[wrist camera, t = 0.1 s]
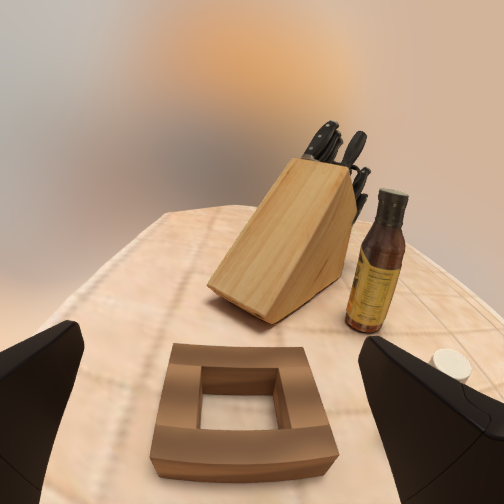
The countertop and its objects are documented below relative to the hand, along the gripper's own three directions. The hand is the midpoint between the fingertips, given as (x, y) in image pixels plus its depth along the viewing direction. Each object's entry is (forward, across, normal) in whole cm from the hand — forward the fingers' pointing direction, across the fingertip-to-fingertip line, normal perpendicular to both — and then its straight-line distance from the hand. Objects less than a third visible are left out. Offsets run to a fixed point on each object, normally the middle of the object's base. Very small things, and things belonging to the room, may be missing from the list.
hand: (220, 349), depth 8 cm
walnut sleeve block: (+9, -2, +16) cm, 19 cm away
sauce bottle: (+25, -21, +17) cm, 36 cm away
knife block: (+39, -14, +16) cm, 44 cm away
